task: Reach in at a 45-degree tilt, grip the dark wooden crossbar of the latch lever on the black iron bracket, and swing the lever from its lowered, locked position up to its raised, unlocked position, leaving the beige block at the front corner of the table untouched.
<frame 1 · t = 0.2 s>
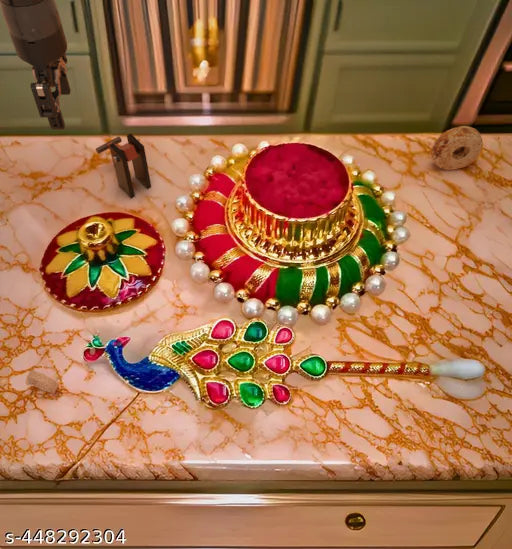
hand: (61, 110, 97), 24 cm above the worktop, tool pointing down, fingers open, 8 cm apart
latch lever: (118, 148, 113), point 9 cm above the worktop, hinge at -28.0°
stone disc: (449, 166, 126), on the worktop
latch bracket: (136, 190, 119), on the worktop
beige block: (47, 388, 96), on the worktop
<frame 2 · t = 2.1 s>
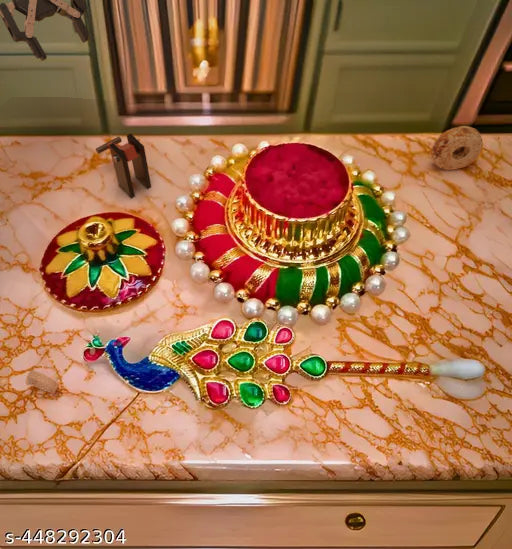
hand: (65, 50, 104), 25 cm above the worktop, tool tilted 45°, fingers open, 8 cm apart
nothing on the worktop moved.
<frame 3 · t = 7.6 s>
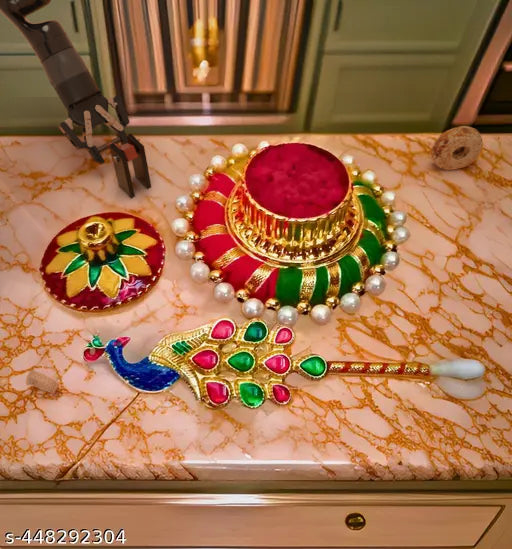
hand: (115, 156, 117), 5 cm above the worktop, tool tilted 45°, fingers closed on latch lever, 5 cm apart
latch lever: (118, 149, 113), point 9 cm above the worktop, hinge at -28.0°, touching gripper
everything else where it was.
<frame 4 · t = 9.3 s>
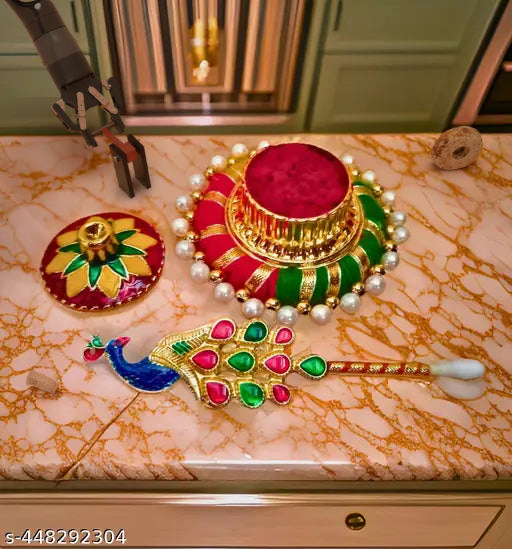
hand: (108, 139, 115), 9 cm above the worktop, tool tilted 45°, fingers closed on latch lever, 5 cm apart
latch lever: (116, 141, 112), point 11 cm above the worktop, hinge at -4.8°, touching gripper
everything else where it was.
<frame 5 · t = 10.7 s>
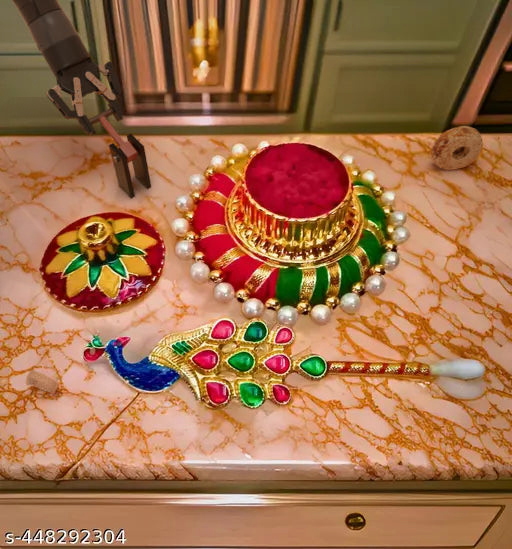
hand: (106, 126, 111), 12 cm above the worktop, tool tilted 45°, fingers closed on latch lever, 5 cm apart
latch lever: (115, 136, 110), point 12 cm above the worktop, hinge at 17.7°, touching gripper
everything else where it was.
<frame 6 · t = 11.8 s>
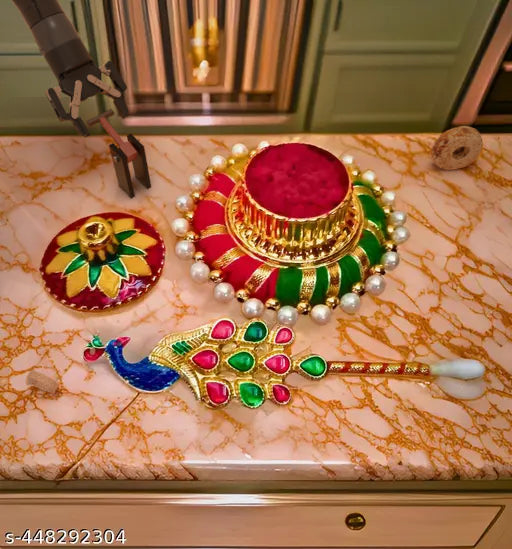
hand: (107, 127, 111), 13 cm above the worktop, tool tilted 45°, fingers open, 8 cm apart
latch lever: (115, 136, 111), point 12 cm above the worktop, hinge at 15.9°
everything else where it was.
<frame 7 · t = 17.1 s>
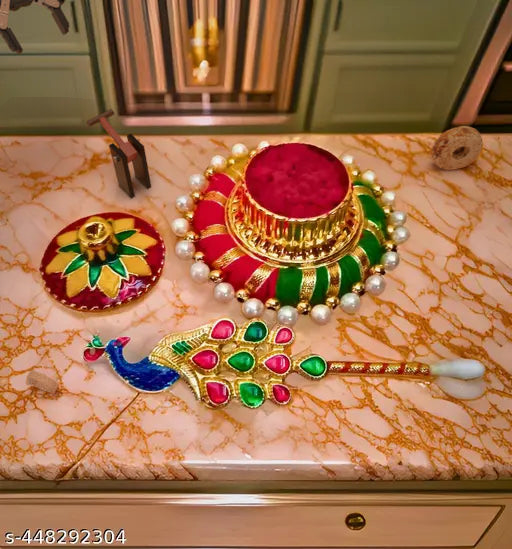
hand: (43, 42, 96), 31 cm above the worktop, tool tilted 45°, fingers open, 8 cm apart
nothing on the worktop moved.
at the end: latch lever at +16° (first picture: -28°); the gripper is holding nothing; beige block moved 0.2 cm from its start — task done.
